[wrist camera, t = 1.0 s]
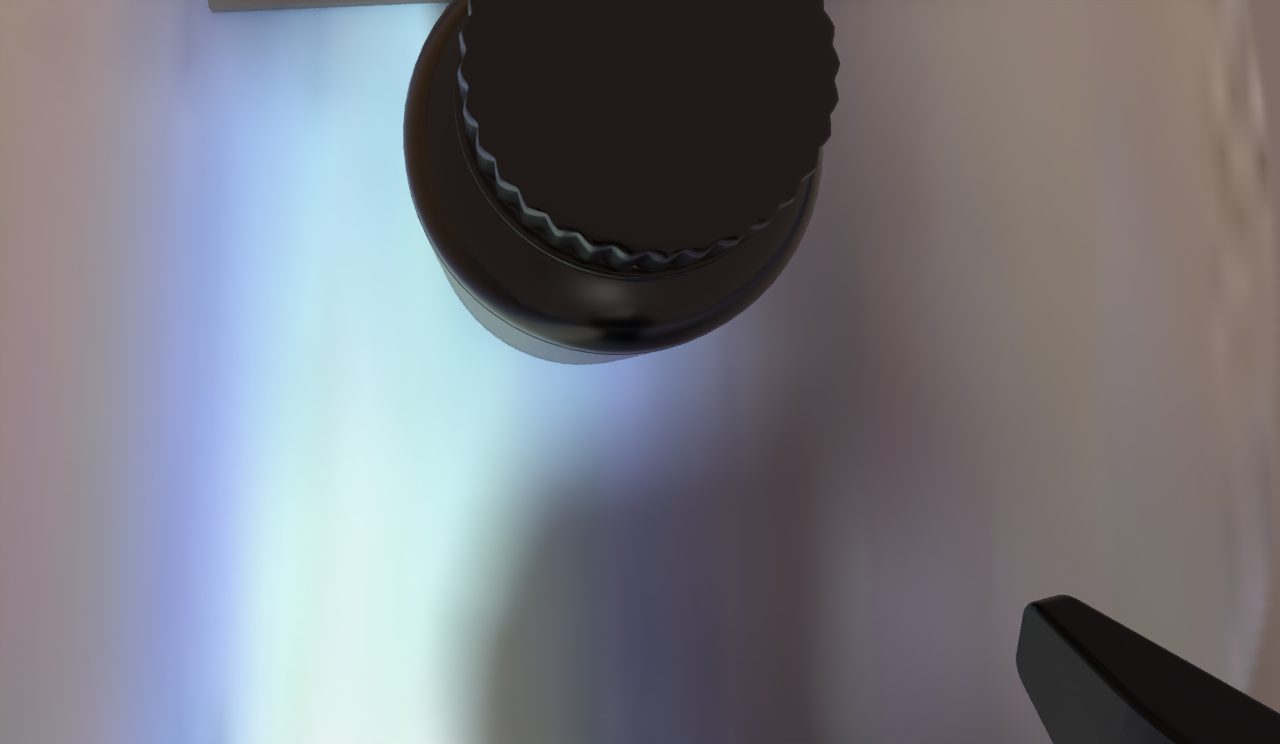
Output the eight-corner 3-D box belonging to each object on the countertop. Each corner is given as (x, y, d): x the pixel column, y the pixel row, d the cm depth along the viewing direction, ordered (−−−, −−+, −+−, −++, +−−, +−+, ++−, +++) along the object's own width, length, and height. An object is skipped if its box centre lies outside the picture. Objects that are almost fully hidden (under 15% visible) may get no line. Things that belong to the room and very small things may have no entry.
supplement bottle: (766, 264, 24) (1023, 161, 12) (541, 419, 23) (585, 468, 11) (613, 31, 24) (727, -313, 12) (378, 182, 23) (244, -25, 11)
